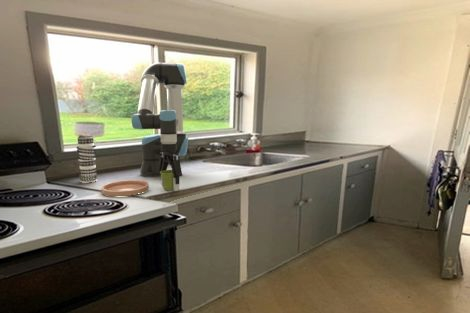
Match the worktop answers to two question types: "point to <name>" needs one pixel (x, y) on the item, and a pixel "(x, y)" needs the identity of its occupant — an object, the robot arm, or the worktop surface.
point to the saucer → (125, 188)
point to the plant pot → (167, 179)
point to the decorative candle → (87, 158)
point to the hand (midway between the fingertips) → (170, 188)
